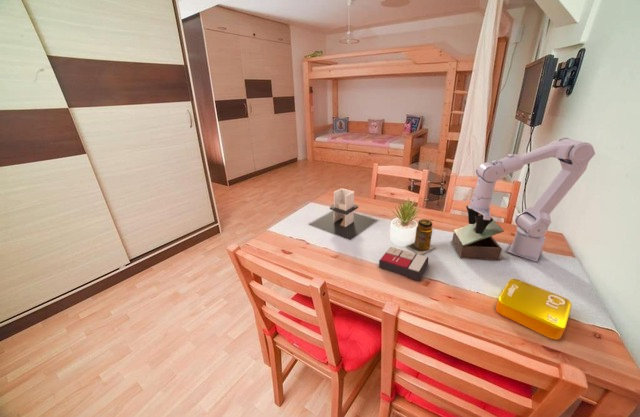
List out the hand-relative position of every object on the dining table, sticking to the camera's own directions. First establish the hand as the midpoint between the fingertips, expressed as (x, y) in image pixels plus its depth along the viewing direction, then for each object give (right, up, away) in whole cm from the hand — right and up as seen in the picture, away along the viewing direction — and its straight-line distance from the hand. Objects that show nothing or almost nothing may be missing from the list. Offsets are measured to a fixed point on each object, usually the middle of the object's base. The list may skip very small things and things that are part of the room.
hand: (475, 228), depth 102 cm
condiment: (-19, -9, +8) cm, 22 cm away
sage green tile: (+1, -1, 0) cm, 2 cm away
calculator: (-29, -14, -3) cm, 33 cm away
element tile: (+1, -23, -25) cm, 34 cm away
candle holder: (-49, +1, +31) cm, 58 cm away
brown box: (+2, -9, +4) cm, 11 cm away
